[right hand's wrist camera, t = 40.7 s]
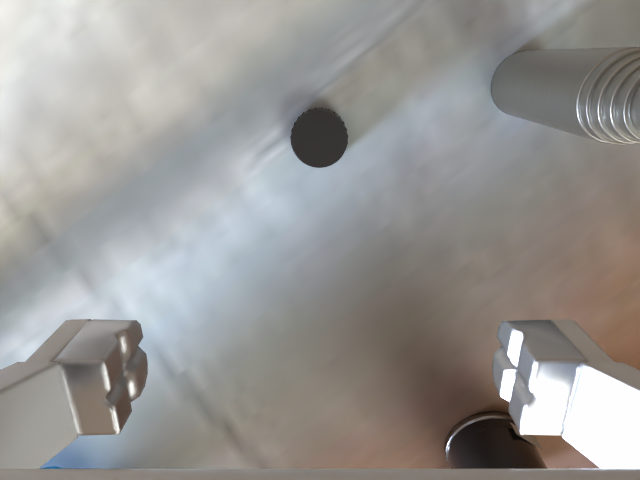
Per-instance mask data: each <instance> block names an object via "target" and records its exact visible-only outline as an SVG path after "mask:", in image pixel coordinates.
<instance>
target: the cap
mask: <svg viewBox="0 0 640 480" xmlns="http://www.w3.org/2000/svg"><path fill="white" fill-rule="evenodd" d="M347 137H348V135H347V129H346V127H345V126H344V122H342V120H341V118H340V116H338V115H337V114H335V112H332V111H330V110H329V109H328V110H327V109H323V108H315V109H311V110H310V109H309V110H308V111H306V112H305V113H304V112H303V114H302V115H301V116H300V117H298V119H297V121H296V122H295V123H294V127H293V128H292V134H291V145H292V148H293V151H294V153H295V154H296V156H297V157H298V158H299V159H300V160H301V161H302V162H303V163H305V164H307V165H309V166H312V167H318V168H321V167H327V166H330V165H332V164H334V163H335V162H337V161H338V160H339V159H340V158H341V157H342V155H343V154H344V152H345V150H346V147H347V144H348V143H347V140H348V138H347Z"/></svg>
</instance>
